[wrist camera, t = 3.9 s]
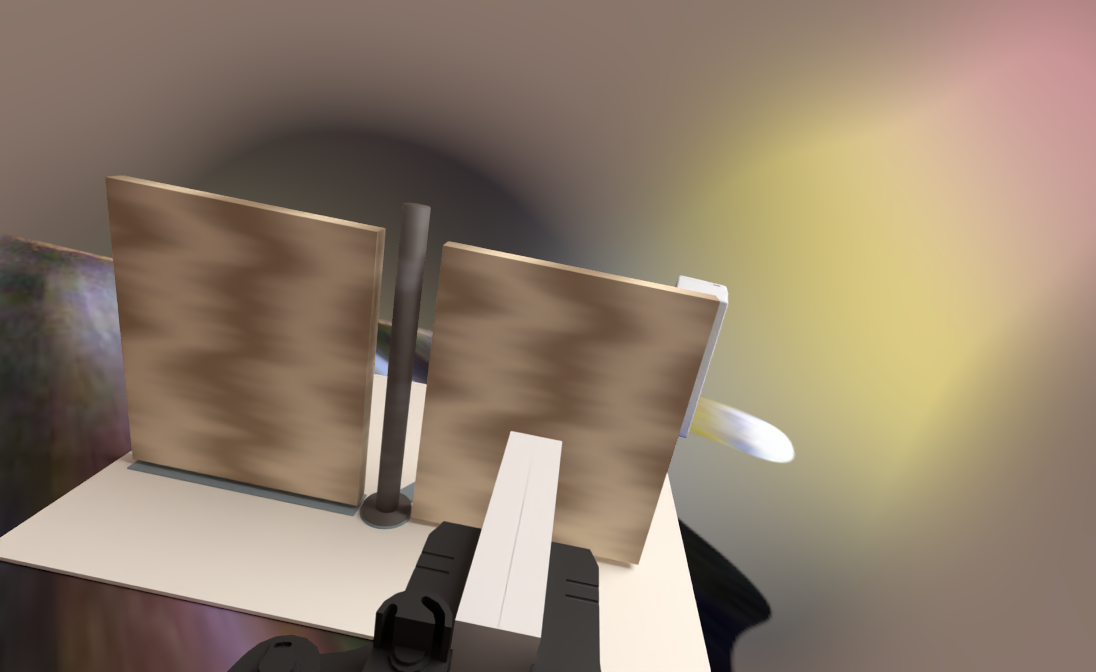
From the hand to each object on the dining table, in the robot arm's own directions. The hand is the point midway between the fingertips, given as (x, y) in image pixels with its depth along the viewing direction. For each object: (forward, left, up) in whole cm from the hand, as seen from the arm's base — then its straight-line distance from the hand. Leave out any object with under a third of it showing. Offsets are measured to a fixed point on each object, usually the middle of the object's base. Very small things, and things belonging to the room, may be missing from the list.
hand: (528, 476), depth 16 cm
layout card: (-6, +15, -12) cm, 20 cm away
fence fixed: (-14, +11, -12) cm, 21 cm away
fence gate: (+1, +11, -11) cm, 15 cm away
